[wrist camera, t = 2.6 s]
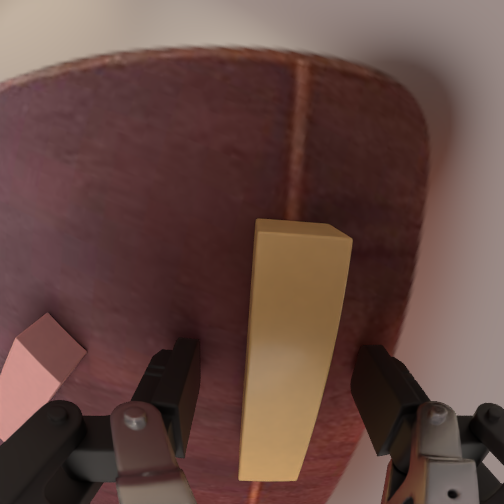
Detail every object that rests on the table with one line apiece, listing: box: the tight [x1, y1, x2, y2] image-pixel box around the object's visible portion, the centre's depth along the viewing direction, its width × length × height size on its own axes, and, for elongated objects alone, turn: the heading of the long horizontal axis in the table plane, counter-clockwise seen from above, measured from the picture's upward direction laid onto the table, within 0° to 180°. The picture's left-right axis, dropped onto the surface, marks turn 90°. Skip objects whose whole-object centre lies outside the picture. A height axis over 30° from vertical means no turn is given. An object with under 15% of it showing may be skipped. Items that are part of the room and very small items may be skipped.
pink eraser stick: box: [0, 313, 87, 442], centre depth 10 cm, size 10×2×2 cm, turn 135°
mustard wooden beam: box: [238, 218, 353, 481], centre depth 10 cm, size 10×2×2 cm, turn 176°
